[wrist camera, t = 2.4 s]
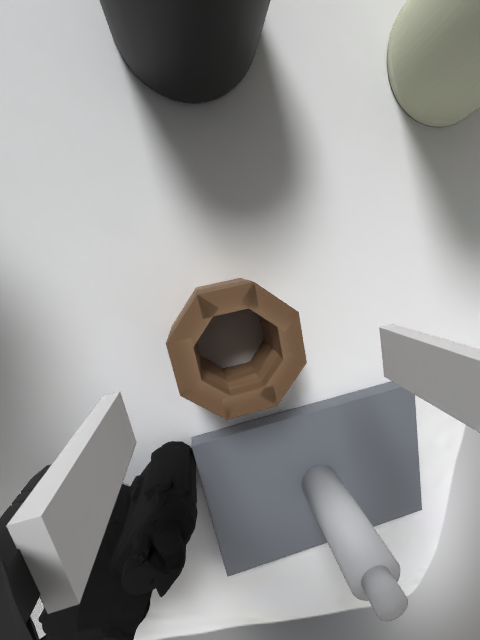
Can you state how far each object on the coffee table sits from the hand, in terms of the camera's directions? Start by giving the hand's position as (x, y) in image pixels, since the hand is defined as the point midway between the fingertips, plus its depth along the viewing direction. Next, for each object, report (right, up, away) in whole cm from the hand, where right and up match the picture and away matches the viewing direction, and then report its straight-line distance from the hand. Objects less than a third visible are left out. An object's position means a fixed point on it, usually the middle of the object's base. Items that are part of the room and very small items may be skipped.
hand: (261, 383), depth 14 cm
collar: (-2, +2, +9) cm, 9 cm away
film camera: (-12, -12, +10) cm, 19 cm away
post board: (+6, -11, +13) cm, 18 cm away
